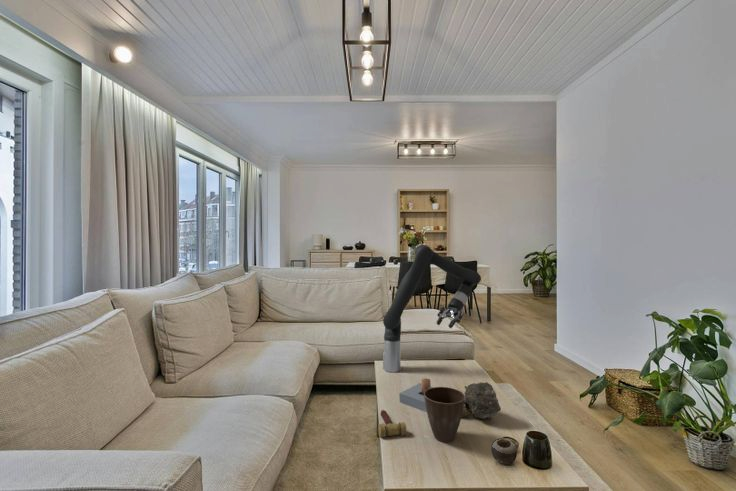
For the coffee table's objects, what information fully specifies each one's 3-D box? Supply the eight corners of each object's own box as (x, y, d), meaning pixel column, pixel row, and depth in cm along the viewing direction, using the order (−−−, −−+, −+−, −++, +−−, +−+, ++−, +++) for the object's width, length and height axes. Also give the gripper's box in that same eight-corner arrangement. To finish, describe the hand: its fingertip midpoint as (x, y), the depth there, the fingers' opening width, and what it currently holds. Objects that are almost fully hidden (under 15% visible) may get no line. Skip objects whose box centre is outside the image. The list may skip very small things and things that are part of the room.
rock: (497, 375, 152) (464, 372, 149) (507, 412, 142) (472, 409, 139) (476, 392, 165) (445, 389, 162) (484, 426, 155) (451, 424, 152)
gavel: (370, 406, 156) (393, 404, 158) (370, 417, 156) (393, 414, 158) (380, 427, 136) (406, 424, 137) (380, 440, 135) (406, 437, 137)
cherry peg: (419, 402, 166) (419, 380, 166) (424, 399, 169) (424, 377, 169) (427, 404, 163) (427, 382, 163) (432, 401, 167) (432, 379, 166)
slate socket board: (399, 401, 167) (399, 393, 167) (419, 391, 178) (419, 383, 178) (432, 414, 154) (432, 405, 154) (452, 402, 166) (452, 393, 166)
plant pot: (436, 423, 147) (436, 383, 147) (471, 435, 138) (471, 393, 138) (416, 438, 136) (416, 395, 135) (453, 453, 126) (453, 407, 126)
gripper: (445, 295, 203) (430, 319, 197) (465, 299, 191) (450, 323, 185) (451, 304, 206) (437, 327, 200) (471, 308, 194) (457, 332, 188)
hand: (443, 325), depth 192 cm, fingers open, 8 cm apart
